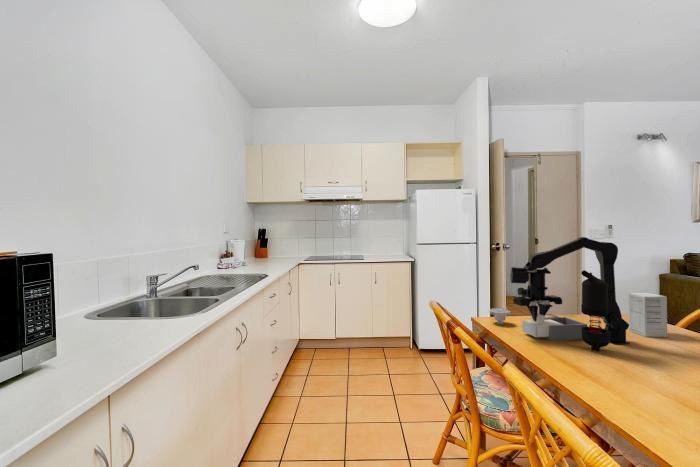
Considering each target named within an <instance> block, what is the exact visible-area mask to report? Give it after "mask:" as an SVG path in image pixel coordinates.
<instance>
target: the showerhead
mask: <svg viewBox="0 0 700 467" xmlns="http://www.w3.org/2000/svg"><path fill="white" fill-rule="evenodd" d="M488 312H489V314H491V315H493V316H494V317H493V318H494V320H495V321H497V322H496V323H497V324H498V325H503V322H504V321H506V317H508V316H511V312H512V311H511V310H509V308H508V307H505V308H501V307H496V308H494V307H493V308H490V309H489V310H488Z"/></svg>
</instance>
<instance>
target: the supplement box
mask: <svg viewBox="0 0 700 467" xmlns="http://www.w3.org/2000/svg"><path fill="white" fill-rule="evenodd" d="M627 301H628V302H627V308H628V309H627V310H628V313H627V314H628V316H627V317H628V318H627V319H628V322H627V323H628V324H629V327H628V329H627V331H628V332H631V333H634V334H636V335H639V336H642V337H645V338H657V337H658V338H664V337H665V338H666V337H668V306H667V305H668V302H667V301H668V300H667V296H666V295H661V294H655V293H650V292H627Z"/></svg>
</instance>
